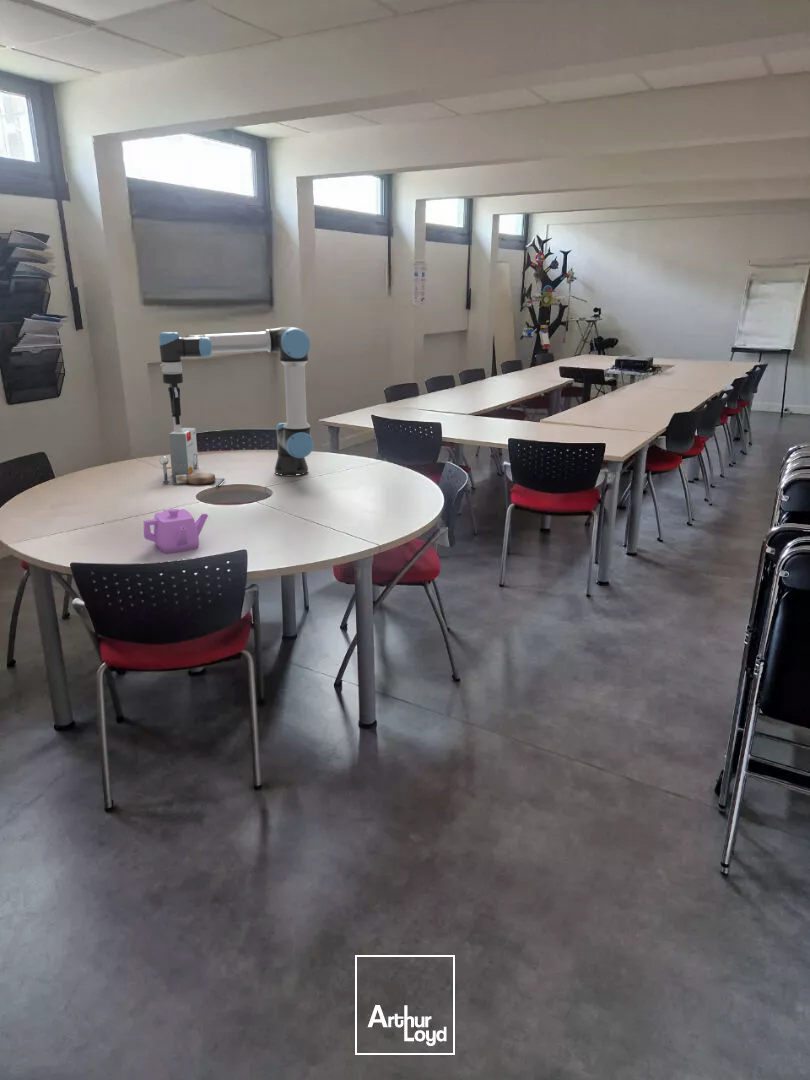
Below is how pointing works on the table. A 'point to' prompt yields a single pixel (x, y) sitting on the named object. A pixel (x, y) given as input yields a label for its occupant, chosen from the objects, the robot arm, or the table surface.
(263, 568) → the table surface
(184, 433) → the hard drive box
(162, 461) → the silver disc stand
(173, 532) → the teakettle
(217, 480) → the dark grey rectangular plate
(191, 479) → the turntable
